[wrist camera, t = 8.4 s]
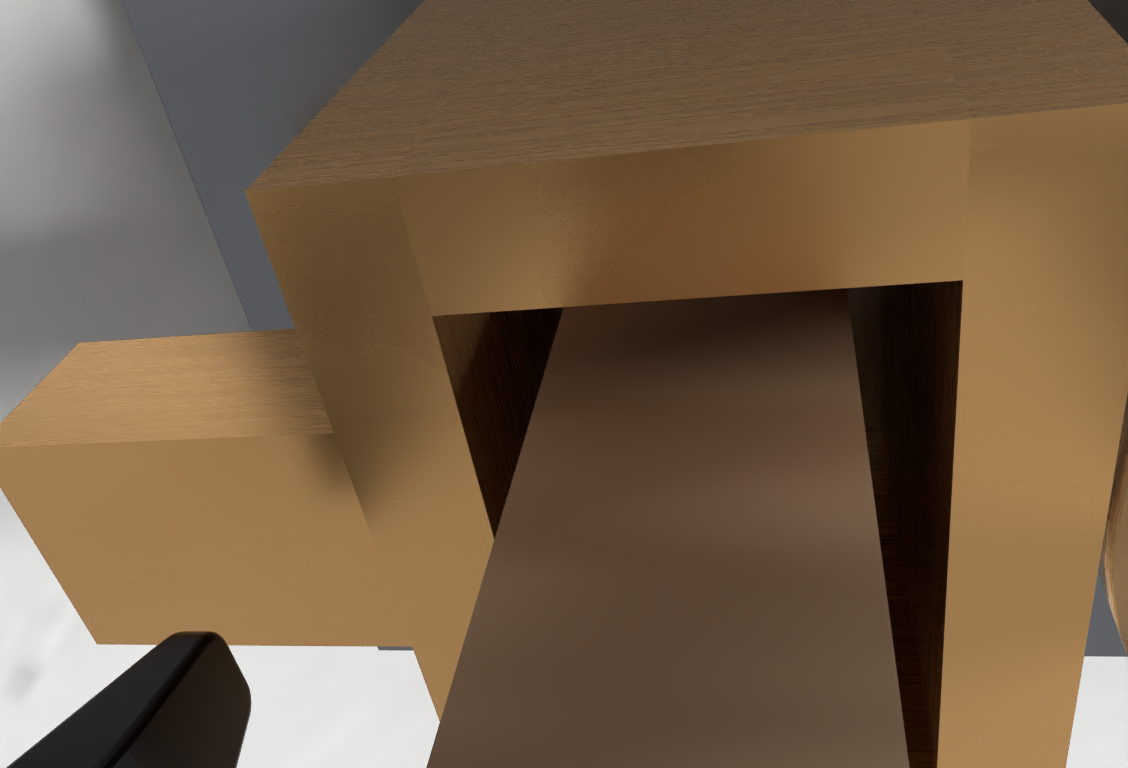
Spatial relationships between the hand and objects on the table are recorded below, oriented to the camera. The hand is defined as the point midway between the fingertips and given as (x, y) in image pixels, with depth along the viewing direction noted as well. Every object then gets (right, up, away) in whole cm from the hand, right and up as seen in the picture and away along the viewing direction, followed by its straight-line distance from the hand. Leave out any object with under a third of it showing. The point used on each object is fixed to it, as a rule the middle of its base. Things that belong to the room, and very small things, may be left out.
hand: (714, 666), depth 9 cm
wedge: (+1, +4, +6) cm, 7 cm away
